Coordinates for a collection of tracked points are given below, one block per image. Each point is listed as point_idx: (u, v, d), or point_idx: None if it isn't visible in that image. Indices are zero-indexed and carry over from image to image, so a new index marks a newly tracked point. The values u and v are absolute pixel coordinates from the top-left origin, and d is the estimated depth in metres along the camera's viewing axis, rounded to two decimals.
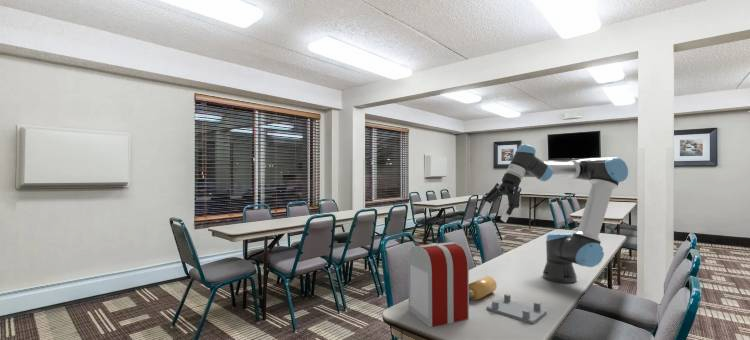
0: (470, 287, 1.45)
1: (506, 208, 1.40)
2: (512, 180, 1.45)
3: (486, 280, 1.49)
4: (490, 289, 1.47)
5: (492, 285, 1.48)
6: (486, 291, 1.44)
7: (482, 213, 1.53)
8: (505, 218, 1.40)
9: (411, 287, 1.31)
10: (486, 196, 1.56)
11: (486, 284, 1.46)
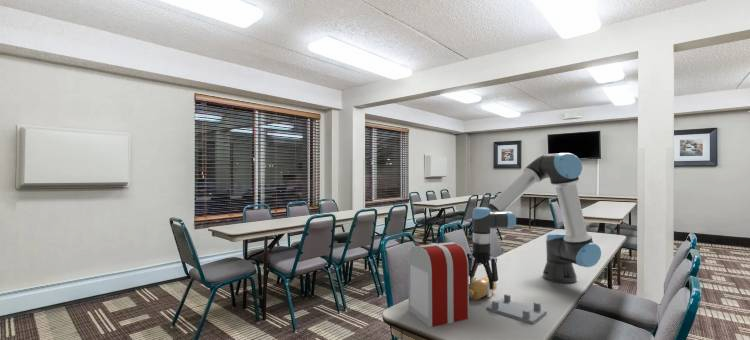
0: (470, 287, 1.45)
1: (488, 285, 1.45)
2: (485, 251, 1.45)
3: (486, 280, 1.49)
4: None
5: None
6: (486, 290, 1.44)
7: None
8: (490, 293, 1.46)
9: (411, 287, 1.31)
10: None
11: (486, 284, 1.46)
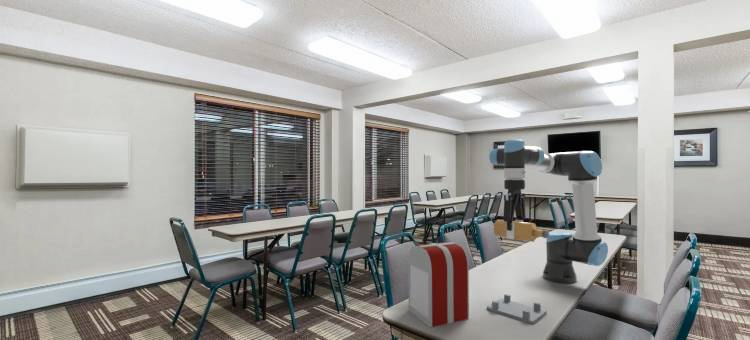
0: (531, 229, 1.26)
1: None
2: None
3: None
4: None
5: None
6: None
7: None
8: None
9: (411, 287, 1.31)
10: (510, 216, 1.27)
11: None
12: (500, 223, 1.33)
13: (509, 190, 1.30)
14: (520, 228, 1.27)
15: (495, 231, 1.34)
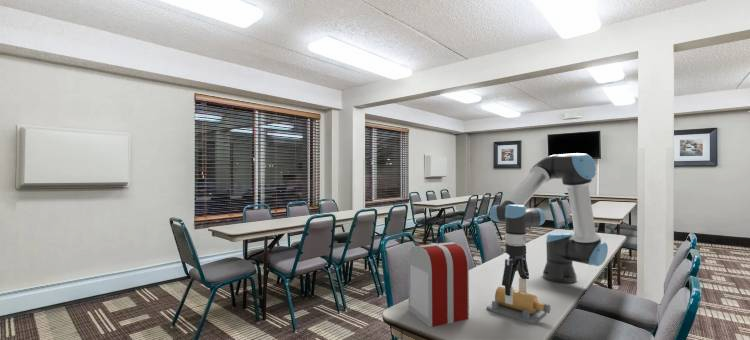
0: (532, 302, 1.25)
1: None
2: None
3: None
4: None
5: None
6: None
7: None
8: None
9: (411, 287, 1.31)
10: (509, 281, 1.25)
11: None
12: (501, 292, 1.33)
13: (510, 256, 1.29)
14: (521, 301, 1.27)
15: (496, 300, 1.34)
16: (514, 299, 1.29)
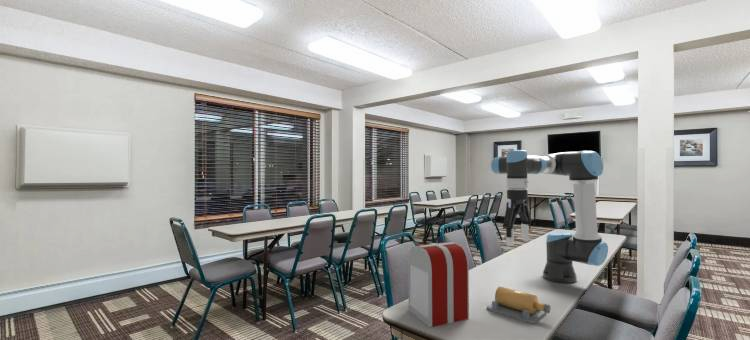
0: (532, 302, 1.25)
1: (528, 227, 1.36)
2: None
3: None
4: None
5: None
6: None
7: None
8: None
9: (411, 287, 1.31)
10: (510, 223, 1.25)
11: None
12: (501, 292, 1.33)
13: (512, 200, 1.30)
14: (521, 301, 1.27)
15: (496, 300, 1.34)
16: (514, 299, 1.29)
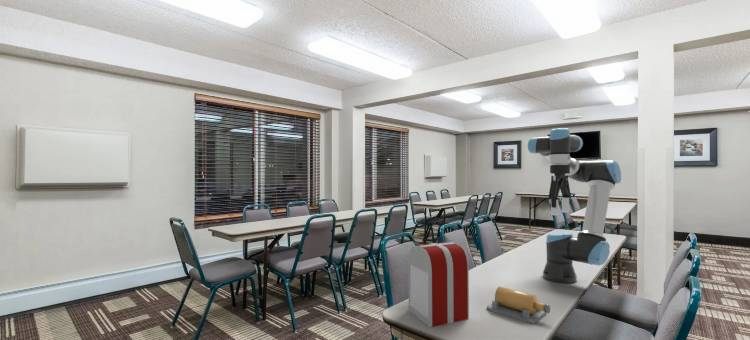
0: (532, 302, 1.25)
1: (568, 200, 1.47)
2: None
3: None
4: None
5: None
6: None
7: None
8: None
9: (411, 287, 1.31)
10: (555, 194, 1.37)
11: None
12: (501, 292, 1.33)
13: (556, 174, 1.41)
14: (521, 301, 1.27)
15: (496, 300, 1.34)
16: (514, 299, 1.28)
